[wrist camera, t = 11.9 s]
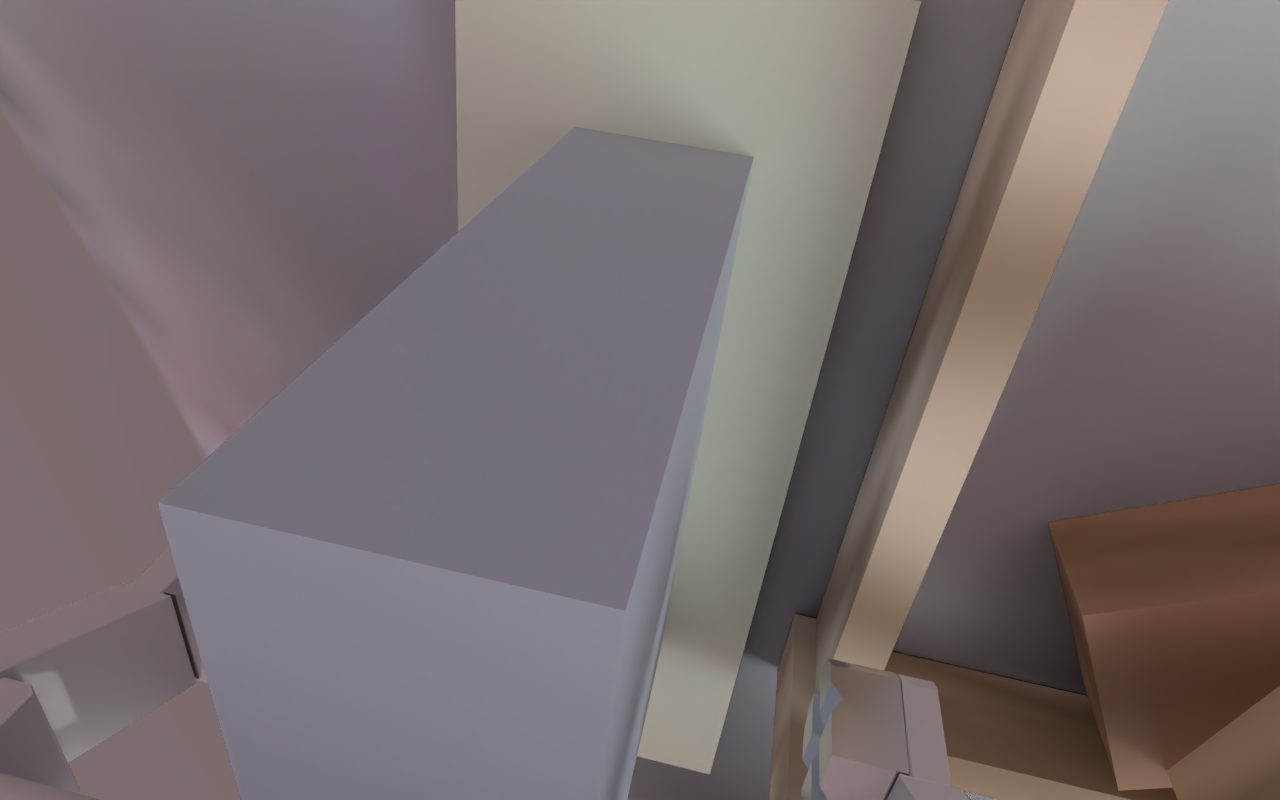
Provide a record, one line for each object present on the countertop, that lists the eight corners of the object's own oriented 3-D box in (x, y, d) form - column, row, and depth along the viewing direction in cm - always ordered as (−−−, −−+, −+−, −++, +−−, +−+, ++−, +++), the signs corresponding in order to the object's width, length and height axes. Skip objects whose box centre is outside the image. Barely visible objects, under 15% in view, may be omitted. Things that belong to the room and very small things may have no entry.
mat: (712, 754, 22) (709, 774, 22) (471, 695, 23) (463, 713, 22) (917, -3, 12) (921, 1, 11) (468, -68, 13) (454, -67, 12)
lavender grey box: (754, 156, 13) (626, 612, 5) (660, 648, 20) (538, 1204, 11) (574, 126, 13) (156, 502, 5) (542, 621, 20) (336, 1141, 12)
